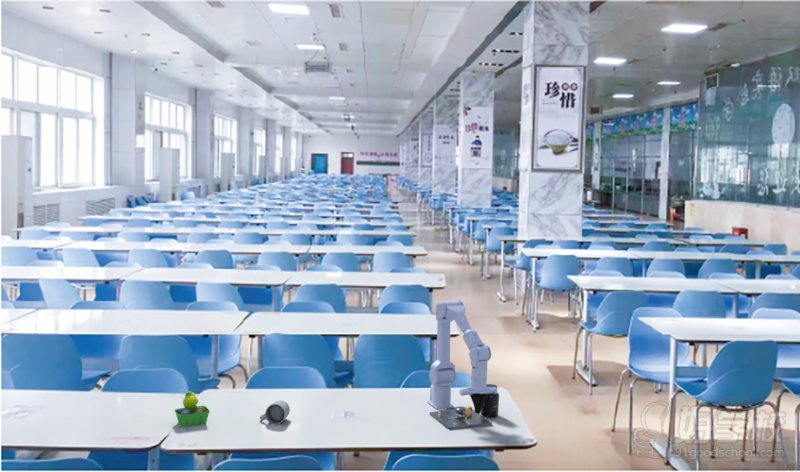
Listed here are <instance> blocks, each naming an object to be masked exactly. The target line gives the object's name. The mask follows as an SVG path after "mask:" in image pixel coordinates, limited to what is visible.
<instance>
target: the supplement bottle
mask: <svg viewBox="0 0 800 472" xmlns="http://www.w3.org/2000/svg"><path fill="white" fill-rule="evenodd" d="M486 387H495V388H497V389H498V385H497V384H492V383H487V384H486ZM486 395H487V399H486V400H485V402H484V404H483V406H482V409H481V413H480V415H482V416H483V417H484V418H489V419H491V418H492V419H494V418H497V417H498V416H499V407H500V406H499V405H500V394H499V392H497V393H496V394H494V393H488V394H486Z"/></svg>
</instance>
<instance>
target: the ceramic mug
mask: <svg viewBox="0 0 800 472" xmlns="http://www.w3.org/2000/svg"><path fill="white" fill-rule="evenodd" d="M290 410H291V409H290V405H289V404H288V402H287V401H285V400H282V399H281V400H280V399H279V400H276V401H274V402H273V403H271V404H270V405H268V406H267V407H266V410H265V412H264V414H262V415H260V416H259V418H260V421H265V420H267V422H268V423H270V424H272V425H279V424H282V423H283V422H284V421H285V419H287V417H288V416H289V415H290V412H291V411H290Z"/></svg>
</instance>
